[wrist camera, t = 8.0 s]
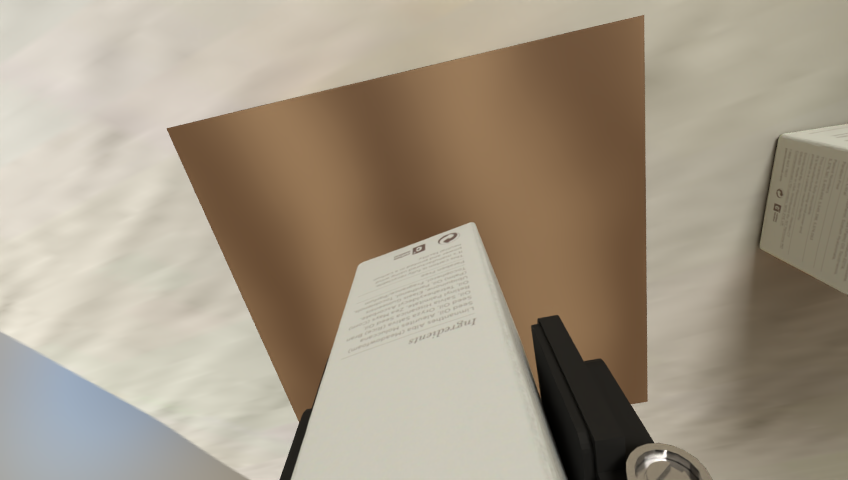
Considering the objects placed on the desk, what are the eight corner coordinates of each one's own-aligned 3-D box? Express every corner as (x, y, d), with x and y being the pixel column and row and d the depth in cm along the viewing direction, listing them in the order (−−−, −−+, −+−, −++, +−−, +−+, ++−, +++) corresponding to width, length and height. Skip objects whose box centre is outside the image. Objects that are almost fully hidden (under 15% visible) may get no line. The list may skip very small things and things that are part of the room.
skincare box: (353, 262, 14) (64, 1076, 3) (474, 216, 13) (755, 1022, 2) (422, 392, 16) (422, 1136, 5) (528, 359, 15) (806, 1122, 4)
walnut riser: (577, 30, 18) (644, 15, 13) (596, 325, 24) (647, 401, 19) (238, 110, 20) (166, 128, 14) (337, 371, 26) (314, 455, 20)
